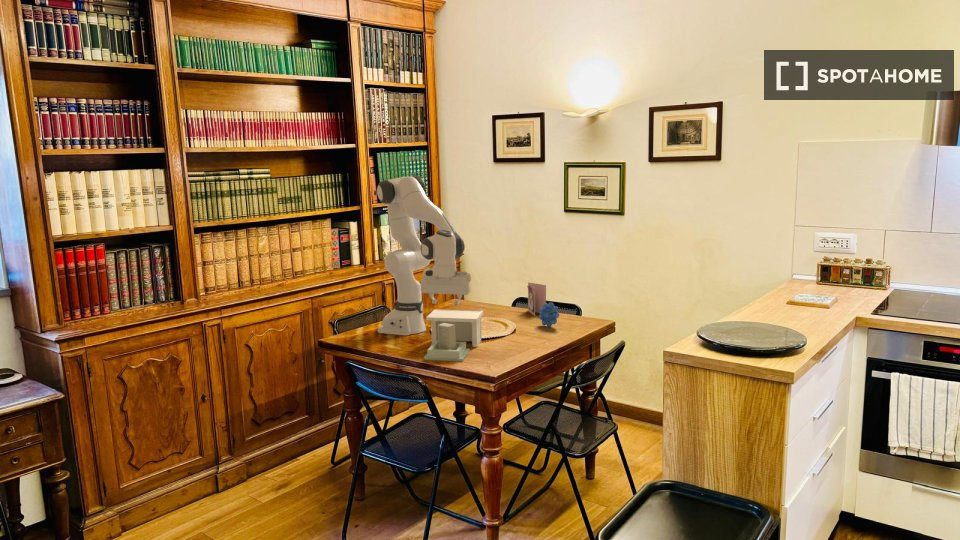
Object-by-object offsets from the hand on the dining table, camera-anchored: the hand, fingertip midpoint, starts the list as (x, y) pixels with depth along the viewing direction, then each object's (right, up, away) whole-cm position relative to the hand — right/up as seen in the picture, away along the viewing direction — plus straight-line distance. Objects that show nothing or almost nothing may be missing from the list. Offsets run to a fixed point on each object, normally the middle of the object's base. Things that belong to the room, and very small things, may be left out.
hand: (445, 304), depth 280 cm
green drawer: (0, -21, +4) cm, 22 cm away
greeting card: (+43, -8, +71) cm, 83 cm away
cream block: (+3, -18, +19) cm, 27 cm away
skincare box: (0, -21, +4) cm, 21 cm away
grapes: (+47, -13, +45) cm, 66 cm away
